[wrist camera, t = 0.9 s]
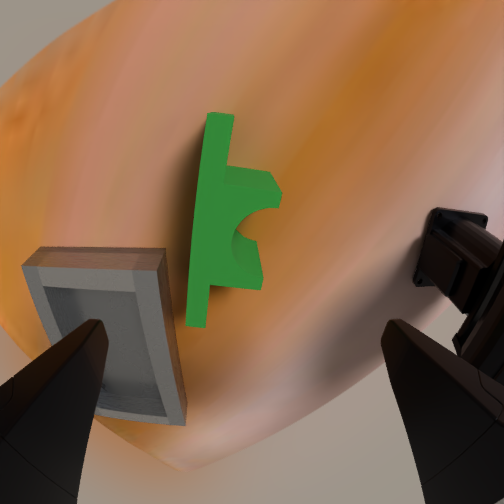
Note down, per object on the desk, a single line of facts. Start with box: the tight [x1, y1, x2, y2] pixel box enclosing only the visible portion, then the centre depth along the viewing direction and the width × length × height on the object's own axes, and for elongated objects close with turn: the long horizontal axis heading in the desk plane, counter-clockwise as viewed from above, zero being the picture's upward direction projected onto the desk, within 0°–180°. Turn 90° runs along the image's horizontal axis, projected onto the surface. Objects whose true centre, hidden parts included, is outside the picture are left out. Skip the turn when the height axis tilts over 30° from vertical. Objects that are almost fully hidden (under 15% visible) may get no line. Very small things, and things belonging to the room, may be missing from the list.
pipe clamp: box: [186, 112, 282, 328], centre depth 16 cm, size 11×4×5 cm, turn 170°
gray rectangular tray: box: [21, 247, 187, 426], centre depth 21 cm, size 10×17×3 cm, turn 177°
